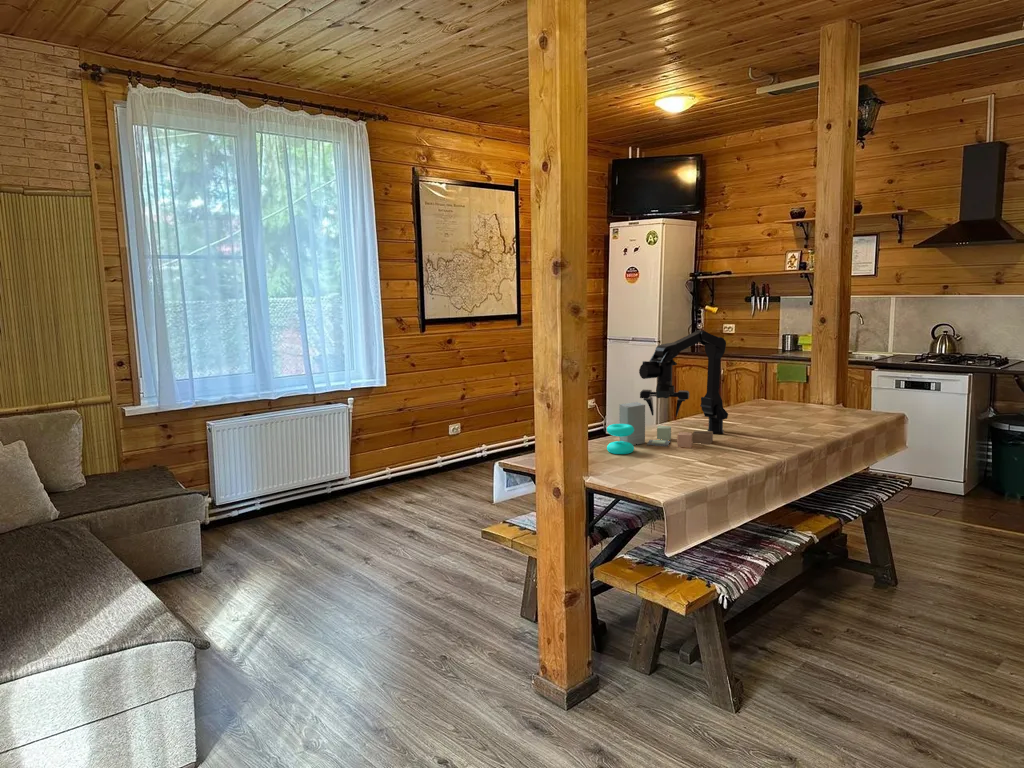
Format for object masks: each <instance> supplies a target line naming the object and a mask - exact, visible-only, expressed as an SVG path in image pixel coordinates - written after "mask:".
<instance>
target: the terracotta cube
mask: <svg viewBox="0 0 1024 768" xmlns="http://www.w3.org/2000/svg"><path fill="white" fill-rule="evenodd" d="M692 434H693V432H690V431H688V432H687V431H686V432H684V431H682V432H681V431H678V433H677V436H676V437H677V440H676V441H677V448H679V447H690V448H689V449H692V446H693V443H692Z"/></svg>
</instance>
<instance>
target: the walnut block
mask: <svg viewBox="0 0 1024 768" xmlns="http://www.w3.org/2000/svg"><path fill="white" fill-rule="evenodd" d="M713 434H714V433H713V431H707V430H694V431H693V432H692V444H693V443H701V444H700V445H710V444H711V445H712V444H713V440H714V439H713V438H714V436H713Z"/></svg>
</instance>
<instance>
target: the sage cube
mask: <svg viewBox="0 0 1024 768" xmlns="http://www.w3.org/2000/svg"><path fill="white" fill-rule="evenodd" d="M657 439H660V440H661V439H662V440H670V441H671V439H672V426H671V425H669V426H668V425H658V426H657V428H656V440H657Z"/></svg>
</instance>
